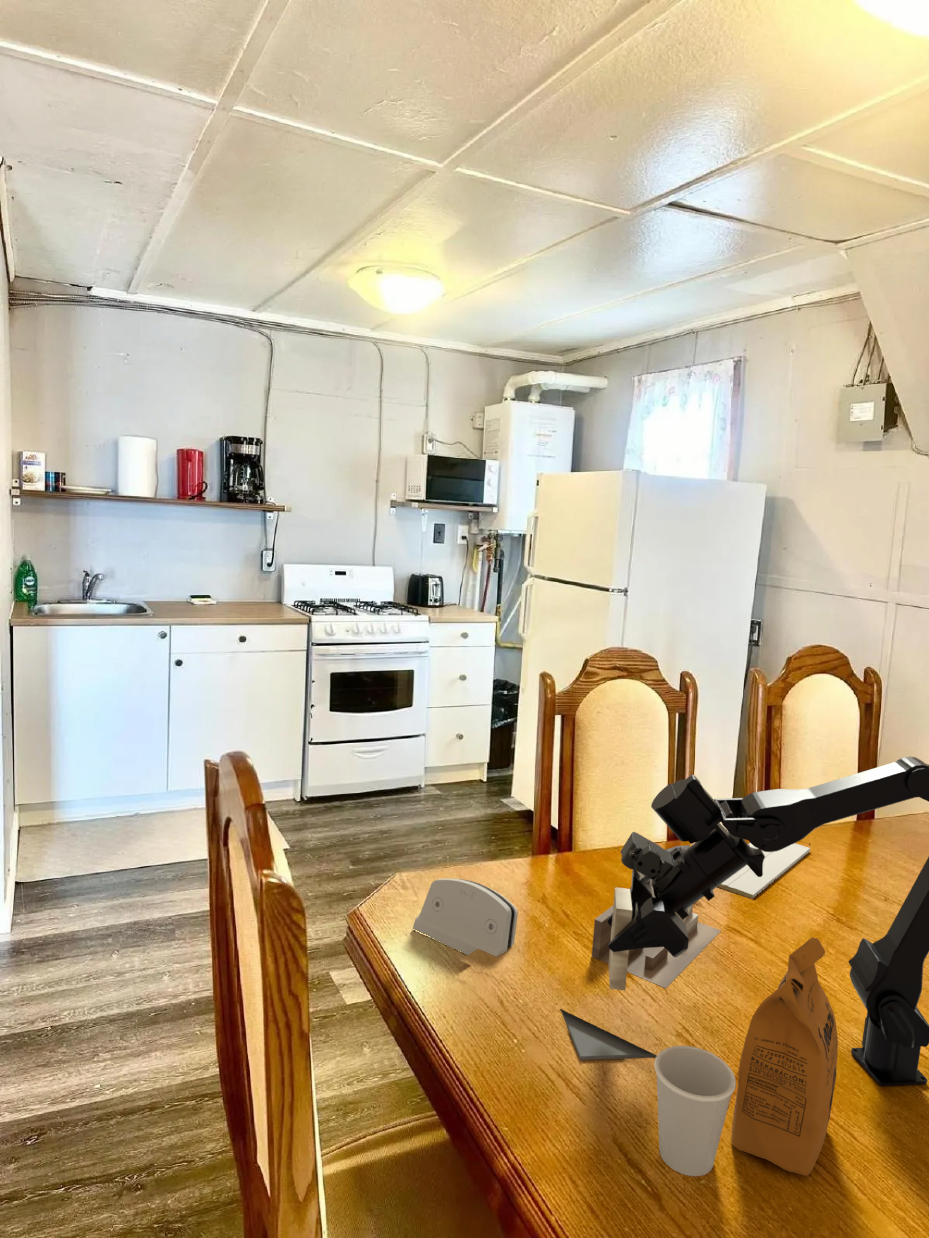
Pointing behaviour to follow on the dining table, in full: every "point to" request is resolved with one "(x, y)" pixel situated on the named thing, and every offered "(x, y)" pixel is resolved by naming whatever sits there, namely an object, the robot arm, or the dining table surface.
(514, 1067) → the dining table surface
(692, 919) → the offcut stack
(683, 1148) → the dixie cup
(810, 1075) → the coffee package
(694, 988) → the dining table surface
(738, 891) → the baseboard molding
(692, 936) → the grey desk organizer
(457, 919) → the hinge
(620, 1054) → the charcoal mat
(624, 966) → the birch board
